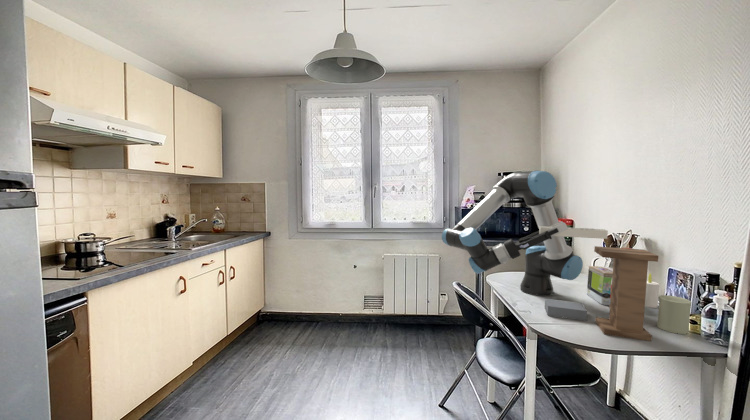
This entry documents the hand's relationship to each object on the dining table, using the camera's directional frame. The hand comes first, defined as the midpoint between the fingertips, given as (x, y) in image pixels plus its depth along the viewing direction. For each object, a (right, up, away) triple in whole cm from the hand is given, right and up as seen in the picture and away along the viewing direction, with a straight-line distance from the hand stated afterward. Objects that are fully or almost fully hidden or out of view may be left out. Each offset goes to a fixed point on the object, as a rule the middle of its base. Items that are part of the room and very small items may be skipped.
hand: (565, 224), depth 130 cm
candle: (+52, -38, +25) cm, 69 cm away
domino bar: (+2, -4, -1) cm, 5 cm away
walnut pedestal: (+18, -39, -3) cm, 43 cm away
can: (+40, -39, -1) cm, 56 cm away
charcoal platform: (+7, -38, +12) cm, 40 cm away
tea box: (+36, -37, +30) cm, 60 cm away
